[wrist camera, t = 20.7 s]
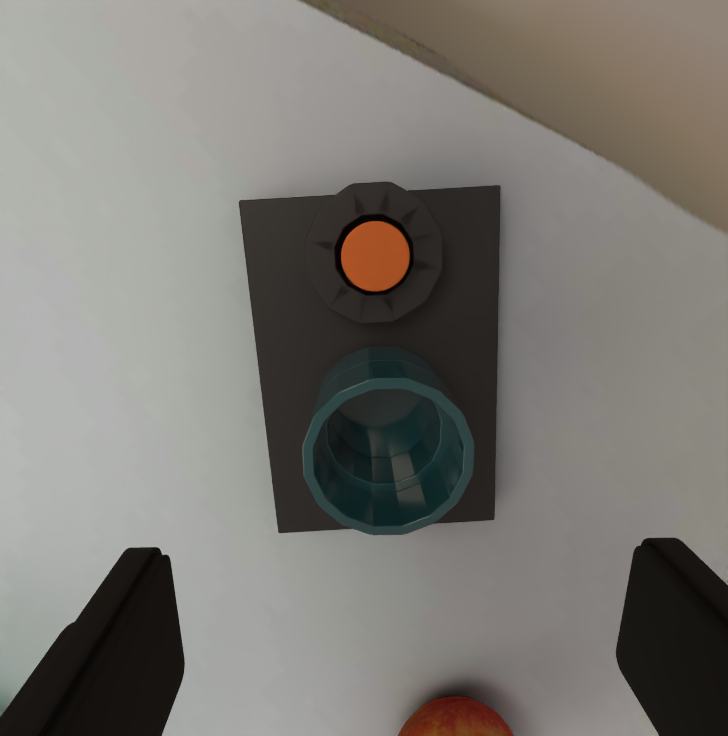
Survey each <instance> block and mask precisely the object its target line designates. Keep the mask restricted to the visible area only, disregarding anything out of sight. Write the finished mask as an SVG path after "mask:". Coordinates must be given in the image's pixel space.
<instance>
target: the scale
mask: <svg viewBox="0 0 728 736" xmlns="http://www.w3.org/2000/svg"><path fill="white" fill-rule="evenodd" d="M239 208H240V216H241V224H242V233H243V241H244V249H245V258H246V266H247V274H248V283H249V291H250V299H251V308H252V316H253V325H254V333H255V341H256V350H257V358H258V366H259V375H260V383H261V391H262V400H263V408H264V416H265V425H266V433H267V441H268V450H269V458H270V467H271V475H272V483H273V492H274V500H275V508H276V517H277V525H278V532H279V533H288V532H305V531H321V530H337V529H353V528H350V527H347V526H344V525H342V524H340V523H339V522H338V521H337V520H335V519H334V518H333V517H332V516H331V515H329V514H328V513H327V512H326V511H325V510H324V509H322V508H321V507H320V506H319V505H318V504H317V502H316V500H315V499H314V497H313V495H312V493H311V491H310V489H309V487H308V485H307V483H306V481H305V479H304V476H303V455H302V445H303V441H304V436H305V432H306V428H307V424H308V420H309V416H310V412H311V408H312V404H313V400H314V397H315V395H316V392H317V390H318V387H319V385H320V382H321V380H322V377H323V376H324V374H325V373H326V372H327V371H328V370H329V369H330V368H331V367H332V366H333V365H334V364H335V363H337V362H338V361H339V360H340V359H341V358H343V356H346V355H348V354H351V353H353V352H355V351H358V350H360V349H363V348H365V347H369V346H395V347H399V348H402V349H404V350H407V351H409V352H412V353H414V354H417V355H419V356H421V357H422V358H423V359H424V360H425V361H426V362H427V363H428V364H429V365H430V366H431V367H432V368H433V369H434V370H435V371H436V372H437V373H438V374H439V375H440V377H441V378H442V380H443V382H444V383H445V385H446V387H447V388H448V390H449V392H450V393H451V395H452V396H453V398H454V400H455V401H456V403H457V405H458V406H459V408H460V410H461V411H462V413H463V415H464V417H465V419H466V422H467V425H468V427H469V430H470V432H471V435H472V437H473V440H474V444H475V448H474V464H473V474H472V477H471V479H470V481H469V483H468V485H467V487H466V489H465V491H464V493H463V494H462V496H461V498H460V500H459V502H458V503H457V504H456V505H455V506H454V507H453V508H451V509H450V510H449V511H448V512H447V513H446V514H444V515H443V516H442V517H441V518H440V519H439V520H438V521H436V522H435V523H433V524H436V523H452V522H469V521H485V520H494V515H495V460H496V405H497V350H498V294H499V239H500V186H499V185H496V186H479V187H462V188H445V189H428V190H411V191H406V190H404V189H403V188H401V187H399V186H397V185H395V184H393V183H392V182H390V183H389V182H373V183H356V184H351V185H349V186H348V187H346V188H345V189H343V190H342V191H340V192H339V193H338V194H336V195H325V196H308V197H291V198H274V199H257V200H240V201H239ZM370 221H381V222H386V223H388V224H391V225H392V226H394V227H396V228H397V229H398V230H399V231H400V232H401V233H402V234H403V236H404V237H405V239H406V241H407V243H408V246H409V251H410V261H409V266H408V269H407V271H406V273H405V275H404V276H403V278H402V279H401V280H400V281H399V282H398V283H397V284H396V285H394V286H393V287H391V288H389V289H387V290H383V291H367V290H364V289H361V288H359V287H358V286H356V285H355V284H353V283H352V282H351V281H350V280H349V278H348V277H347V275H346V274H345V272H344V269H343V266H342V262H341V251H342V247H343V244H344V241H345V239H346V237H347V236H348V235H349V233H350V232H351V231H352V230H353V229H354V228H356V227H357V226H359V225H361V224H363V223H366V222H370Z"/></svg>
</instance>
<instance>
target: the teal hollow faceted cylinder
mask: <svg viewBox="0 0 728 736" xmlns="http://www.w3.org/2000/svg"><path fill="white" fill-rule="evenodd" d="M474 448H475V444H474V440H473V437H472V435H471V432H470V430H469V427H468V425H467V422H466V419H465V417H464V415H463V413H462V411H461V410H460V408H459V406H458V405H457V403H456V401H455V400H454V398H453V396H452V395H451V393H450V392H449V390H448V388H447V387H446V385H445V383H444V382H443V380H442V378H441V377H440V375H439V374H438V373H437V372H436V371H435V370H434V369H433V368H432V367H431V366H430V365H429V364H428V363H427V362H426V361H425V360H424V359H423V358H422V357H421V356H419V355H417V354H414V353H412V352H409V351H407V350H404V349H402V348H399V347H395V346H369V347H365V348H363V349H360V350H358V351H355V352H353V353H351V354H348V355H346V356H343V358H341V359H340V360H339V361H338V362H337V363H335V364H334V365H333V366H332V367H331V368H330V369H329V370H328V371H327V372H326V373H325V374H324V376H323V377H322V380H321V382H320V385H319V387H318V390H317V392H316V395H315V397H314V400H313V404H312V408H311V412H310V416H309V420H308V424H307V428H306V432H305V436H304V441H303V445H302V455H303V476H304V479H305V481H306V483H307V485H308V487H309V489H310V491H311V493H312V495H313V497H314V499H315V500H316V502H317V504H318V505H319V506H320V507H321V508H322V509H324V510H325V511H326V512H327V513H328V514H329V515H331V516H332V517H333V518H334V519H335V520H337V521H338V522H339V523H340V524H342V525H344V526H347V527H350V528H353V529H356V530H358V531H361V532H364V533H367V534H370V535H371V534H372V535H403V534H407V533H410V532H412V531H415V530H418V529H420V528H423V527H426V526H428V525H431V524H433V523H435V522H436V521H438V520H439V519H440V518H441V517H442V516H443V515H444V514H446V513H447V512H448V511H449V510H450V509H451V508H453V507H454V506H455V505H456V504H457V503H458V502H459V500H460V498H461V496H462V494H463V493H464V491H465V489H466V487H467V485H468V483H469V481H470V479H471V477H472V474H473V464H474Z"/></svg>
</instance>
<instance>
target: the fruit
mask: <svg viewBox="0 0 728 736" xmlns="http://www.w3.org/2000/svg"><path fill="white" fill-rule="evenodd" d="M398 736H514V735H513V733H512V731H511V730H510V728H509V727H508V725H507V724H506V723H505V721H504V720H503V719H502V718H501V716H500V715H499V714H498V713H497V712H495V711H494V710H493V709H492V708H490V707H488V706H486V705H485V704H483V703H481V702H479V701H477V700H475V699H472V698H469V697H456V696H450V697H444V698H438V699H435V700H433V701H431V702H429V703H427V704H425V705H424V706H422V707H421V708H420V709H419V710H417V711H416V712H415V713H414V714H413V715H412V716H411V717H410V718H409V719H408V721H407V722H406V723H405V725H404V726H403V728H402V729H401V731H400V733H399V735H398Z"/></svg>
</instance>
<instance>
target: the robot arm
mask: <svg viewBox="0 0 728 736" xmlns="http://www.w3.org/2000/svg"><path fill="white" fill-rule="evenodd" d="M616 658H617V662H618V666H619V668H620V670H621V672H622V674H623V676H624V677H625V679H626V681H627V682H628V684H629V686H630V687H631V689H632V691H633V692H634V694H635V696H636V697H637V699H638V701H639V702H640V704H641V706H642V707H643V709H644V711H645V712H646V714H647V716H648V717H649V719H650V721H651V722H652V724H653V726H654V727H655V729H656V731H657V732H658V734H659V736H728V585H727V584H726V583H725V582H724V581H723V580H722V579H721V578H720V577H719V576H718V575H716V574H715V573H714V572H713V571H712V570H711V569H710V568H709V567H708V566H707V565H706V564H705V563H704V562H703V561H702V560H701V559H700V558H699V557H698V556H697V555H696V554H695V553H694V552H693V551H692V550H690V549H689V548H688V547H687V546H686V545H685V544H684V543H683V542H682V541H681V540H679V539H677V538H647V539H644V540H643V542H642V544H641V546H637V547H636V548H635V550H634V553H633V559H632V564H631V570H630V575H629V581H628V586H627V592H626V598H625V603H624V609H623V614H622V620H621V625H620V631H619V636H618V642H617V647H616ZM184 665H185V662H184V653H183V646H182V639H181V632H180V625H179V618H178V611H177V604H176V597H175V590H174V583H173V575H172V568H171V561H170V558H169V556H168V555H162V553H161V551H160V549H159V548H157V547H147V548H128V549H126V550H125V551H124V552H123V554H122V555H121V557H120V558H119V560H118V561H117V562H116V564H115V565H114V567H113V568H112V570H111V571H110V572H109V574H108V575H107V577H106V578H105V579H104V581H103V582H102V584H101V585H100V587H99V588H98V589H97V591H96V592H95V594H94V595H93V597H92V598H91V599H90V601H89V602H88V604H87V605H86V607H85V608H84V609H83V611H82V612H81V614H80V615H79V617H78V618H77V619H76V621H75V622H73V623H71V624H70V625H68V626H67V627H66V628H65V629H64V630H63V631H62V632H61V633H60V635H59V636H58V638H57V639H56V640H55V642H54V643H53V645H52V646H51V647H50V649H49V650H48V652H47V653H46V654H45V656H44V657H43V659H42V660H41V661H40V663H39V664H38V666H37V667H36V668H35V670H34V671H33V673H32V674H31V675H30V677H29V678H28V680H27V681H26V682H25V684H24V685H23V687H22V688H21V689H20V691H19V692H18V694H17V695H16V696H15V698H14V699H13V701H12V702H11V703H10V705H9V706H8V707H7V709H6V710H5V712H4V713H3V714H2V716H1V717H0V736H162V733H163V730H164V728H165V725H166V722H167V720H168V717H169V714H170V712H171V709H172V706H173V704H174V701H175V698H176V696H177V693H178V690H179V688H180V685H181V682H182V679H183V674H184Z"/></svg>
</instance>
